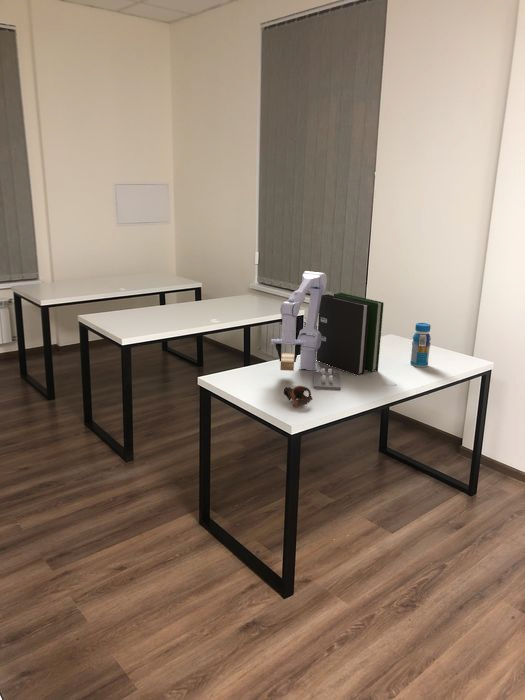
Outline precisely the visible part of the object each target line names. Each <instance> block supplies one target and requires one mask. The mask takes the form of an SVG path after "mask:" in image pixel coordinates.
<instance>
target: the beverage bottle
mask: <svg viewBox="0 0 525 700" xmlns="http://www.w3.org/2000/svg"><path fill="white" fill-rule="evenodd" d="M431 326H432V325H431V324H430V323H426V322H417V323H416V324H415V327H414V329H415V332H414V334H413V336H412V341H411V346H412V347H411V355H410V366H413V367H416V368H426V367H428V366H429V358H430V357H429V356H430V347H431V342H430V341H431V340H432V338H431V335H430V332H431Z"/></svg>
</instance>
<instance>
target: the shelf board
mask: <svg viewBox="0 0 525 700" xmlns="http://www.w3.org/2000/svg"><path fill="white" fill-rule="evenodd" d="M294 356H295V353H289V352H288V353H287V352H281V361H280V369H279V370H280V371H289V372H291V371H293V372H294V370H295V362H294Z"/></svg>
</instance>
